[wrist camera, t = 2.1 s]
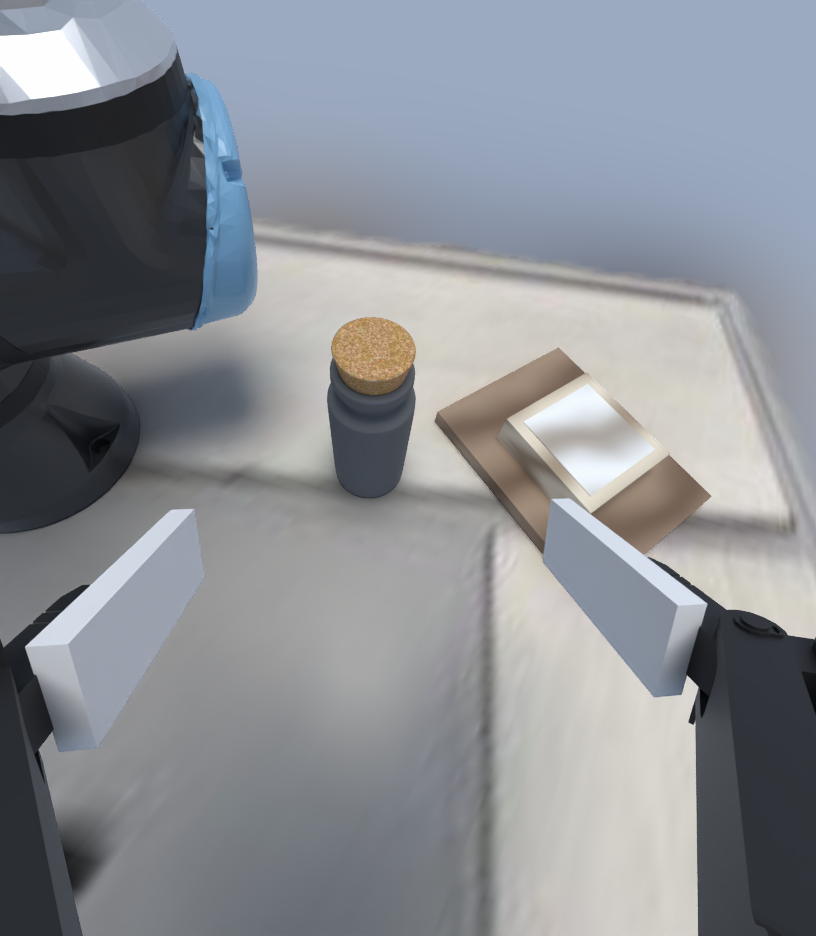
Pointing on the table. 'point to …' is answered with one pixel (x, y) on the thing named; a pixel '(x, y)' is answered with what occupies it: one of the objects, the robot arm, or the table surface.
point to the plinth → (569, 453)
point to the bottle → (371, 404)
